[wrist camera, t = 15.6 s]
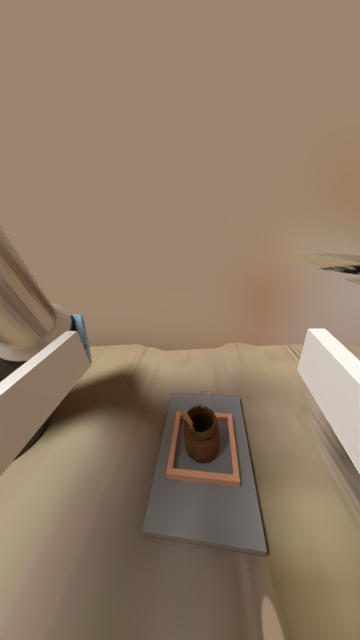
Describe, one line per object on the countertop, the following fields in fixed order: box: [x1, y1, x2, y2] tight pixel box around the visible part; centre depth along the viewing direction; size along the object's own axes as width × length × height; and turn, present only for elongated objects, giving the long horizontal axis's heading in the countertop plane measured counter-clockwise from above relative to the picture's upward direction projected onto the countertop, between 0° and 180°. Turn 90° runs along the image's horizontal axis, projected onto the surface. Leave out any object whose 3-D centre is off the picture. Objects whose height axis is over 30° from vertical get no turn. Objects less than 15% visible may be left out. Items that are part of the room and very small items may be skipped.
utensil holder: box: [179, 392, 220, 463], centre depth 29 cm, size 6×6×12 cm
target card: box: [142, 393, 267, 556], centre depth 32 cm, size 15×22×3 cm
